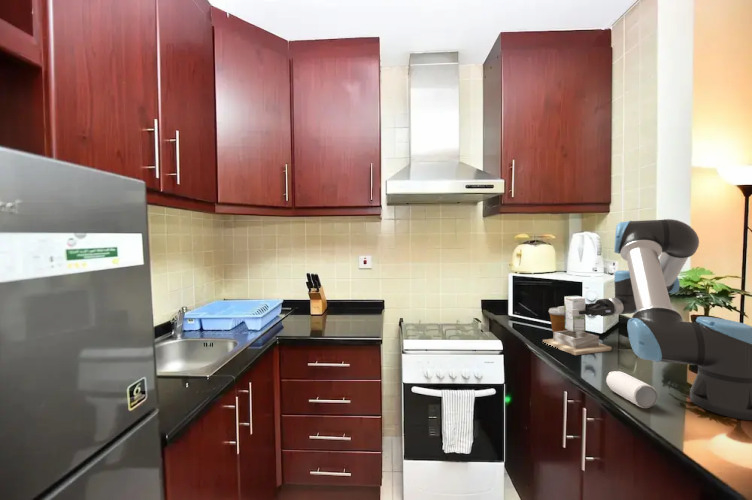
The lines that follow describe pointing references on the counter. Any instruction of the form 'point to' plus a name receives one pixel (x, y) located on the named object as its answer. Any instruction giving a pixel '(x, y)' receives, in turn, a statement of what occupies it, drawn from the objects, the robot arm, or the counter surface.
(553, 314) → the disposable coffee cup
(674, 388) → the counter surface
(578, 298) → the syrup box
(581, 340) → the stand
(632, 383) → the can
